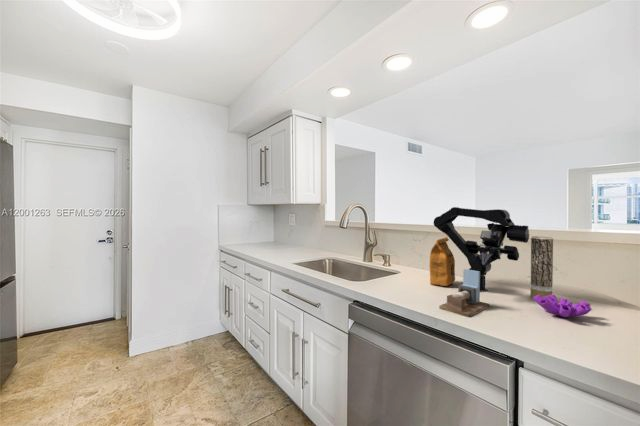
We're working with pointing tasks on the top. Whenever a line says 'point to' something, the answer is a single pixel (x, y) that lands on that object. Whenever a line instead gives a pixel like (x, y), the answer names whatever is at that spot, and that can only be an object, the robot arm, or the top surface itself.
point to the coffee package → (442, 264)
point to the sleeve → (472, 281)
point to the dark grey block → (473, 293)
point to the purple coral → (562, 306)
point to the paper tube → (541, 266)
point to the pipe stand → (462, 304)
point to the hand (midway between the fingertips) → (483, 265)
